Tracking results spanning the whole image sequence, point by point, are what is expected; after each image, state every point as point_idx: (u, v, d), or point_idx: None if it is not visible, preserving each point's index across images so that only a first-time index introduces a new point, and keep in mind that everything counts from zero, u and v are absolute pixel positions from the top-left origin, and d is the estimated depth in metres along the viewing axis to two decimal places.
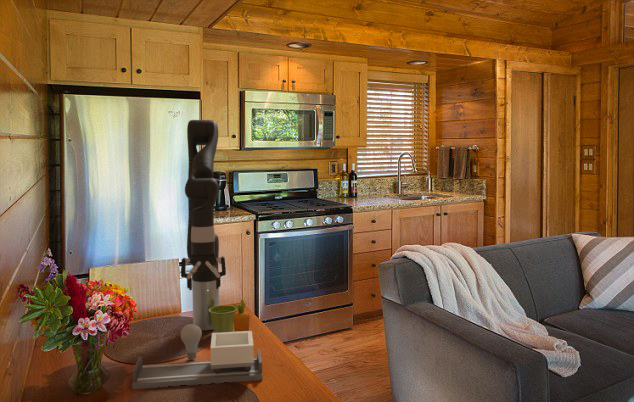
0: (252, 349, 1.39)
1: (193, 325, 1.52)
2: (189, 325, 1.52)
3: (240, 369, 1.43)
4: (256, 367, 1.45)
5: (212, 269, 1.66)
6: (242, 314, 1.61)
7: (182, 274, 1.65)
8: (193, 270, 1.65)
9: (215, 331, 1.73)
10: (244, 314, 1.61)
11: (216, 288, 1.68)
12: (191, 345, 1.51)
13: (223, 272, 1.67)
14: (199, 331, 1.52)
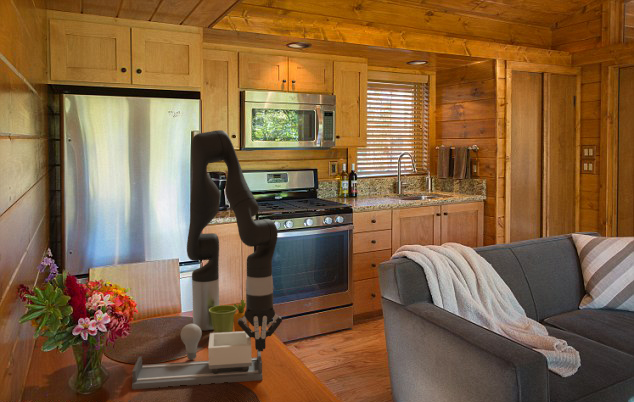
0: (250, 349, 1.39)
1: (193, 325, 1.52)
2: (189, 325, 1.52)
3: (240, 369, 1.43)
4: (256, 367, 1.45)
5: (263, 327, 1.43)
6: (242, 314, 1.61)
7: (250, 334, 1.43)
8: (256, 328, 1.43)
9: (215, 331, 1.73)
10: (244, 314, 1.61)
11: None
12: (191, 345, 1.51)
13: (270, 332, 1.44)
14: (199, 331, 1.52)
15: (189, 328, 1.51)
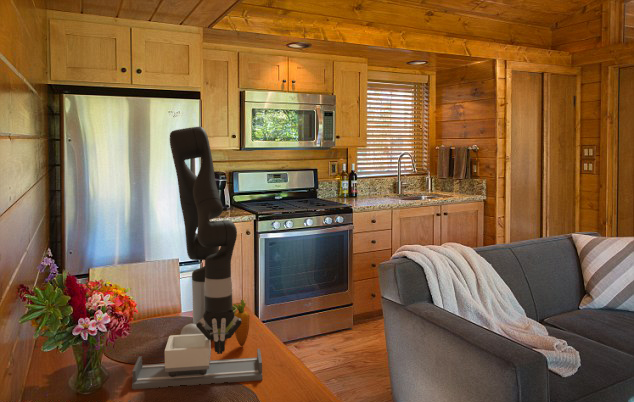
0: (207, 352, 1.37)
1: (193, 325, 1.52)
2: (189, 325, 1.52)
3: (240, 369, 1.43)
4: (256, 367, 1.45)
5: (222, 329, 1.42)
6: (242, 314, 1.61)
7: (209, 336, 1.42)
8: (215, 330, 1.41)
9: None
10: (244, 314, 1.61)
11: (220, 353, 1.43)
12: None
13: (229, 335, 1.43)
14: (199, 331, 1.52)
15: (189, 328, 1.51)
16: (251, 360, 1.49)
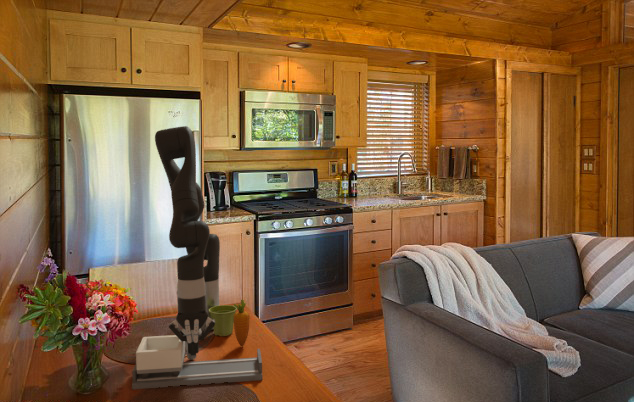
0: (180, 354, 1.36)
1: None
2: None
3: (240, 369, 1.43)
4: (256, 367, 1.45)
5: (195, 330, 1.40)
6: (242, 314, 1.61)
7: (182, 338, 1.40)
8: (188, 332, 1.40)
9: (215, 331, 1.73)
10: (244, 314, 1.61)
11: (193, 355, 1.42)
12: None
13: (202, 336, 1.41)
14: (199, 331, 1.52)
15: None
16: (251, 360, 1.49)
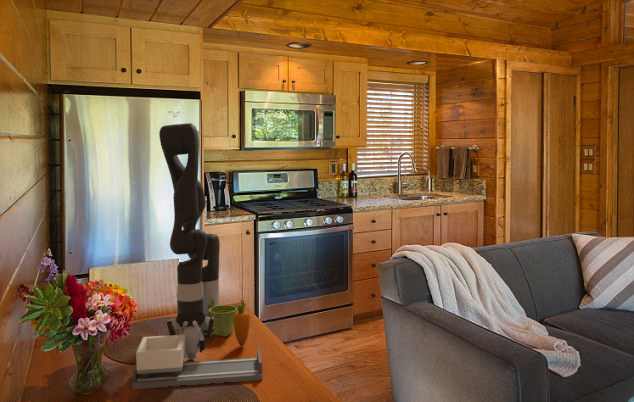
0: (180, 354, 1.36)
1: None
2: None
3: (240, 369, 1.43)
4: (256, 367, 1.45)
5: (198, 330, 1.51)
6: (242, 314, 1.61)
7: None
8: (182, 332, 1.51)
9: (215, 331, 1.73)
10: (244, 314, 1.61)
11: (200, 352, 1.53)
12: (191, 345, 1.51)
13: (208, 334, 1.52)
14: None
15: (189, 328, 1.51)
16: (251, 360, 1.49)
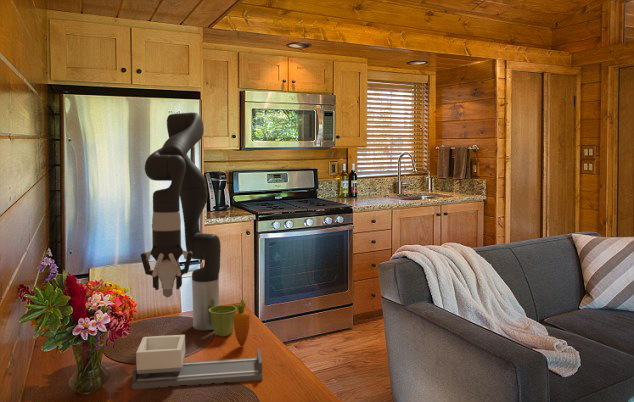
0: (180, 354, 1.36)
1: None
2: None
3: (240, 369, 1.43)
4: (256, 367, 1.45)
5: None
6: (242, 314, 1.61)
7: (147, 271, 1.39)
8: (157, 265, 1.39)
9: (215, 331, 1.73)
10: (244, 314, 1.61)
11: (176, 288, 1.41)
12: (167, 280, 1.40)
13: (185, 269, 1.41)
14: None
15: (165, 261, 1.39)
16: (251, 360, 1.49)
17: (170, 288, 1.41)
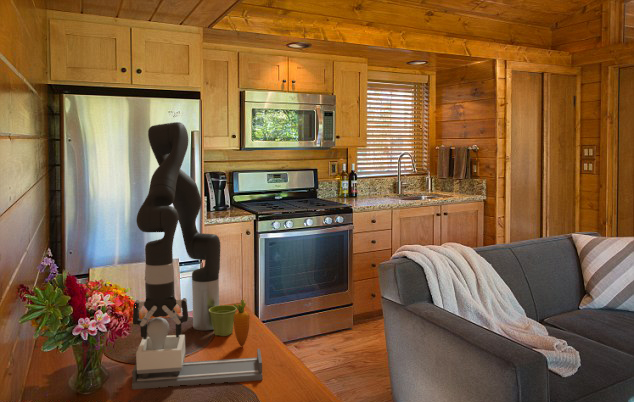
0: (180, 354, 1.36)
1: (159, 319, 1.40)
2: (155, 319, 1.40)
3: (240, 369, 1.43)
4: (256, 367, 1.45)
5: (171, 315, 1.39)
6: (242, 314, 1.61)
7: (134, 321, 1.38)
8: (147, 316, 1.38)
9: (215, 331, 1.73)
10: (244, 314, 1.61)
11: None
12: (156, 340, 1.39)
13: (184, 318, 1.40)
14: (166, 326, 1.40)
15: (154, 322, 1.39)
16: (251, 360, 1.49)
17: (160, 348, 1.40)
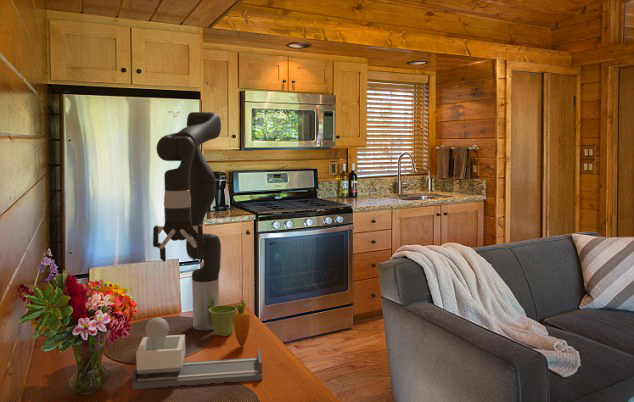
0: (180, 354, 1.36)
1: (159, 320, 1.39)
2: (154, 319, 1.39)
3: (240, 369, 1.43)
4: (256, 367, 1.45)
5: (188, 238, 1.49)
6: (242, 314, 1.61)
7: (154, 243, 1.48)
8: (166, 239, 1.48)
9: (215, 331, 1.73)
10: (244, 314, 1.61)
11: None
12: (156, 341, 1.39)
13: (200, 242, 1.50)
14: (165, 326, 1.39)
15: (154, 322, 1.38)
16: (251, 360, 1.49)
17: (160, 348, 1.40)
